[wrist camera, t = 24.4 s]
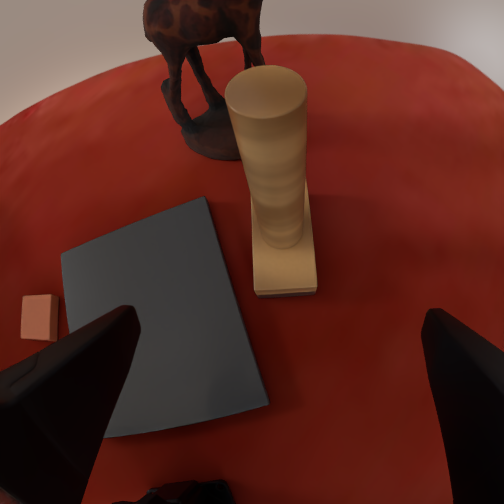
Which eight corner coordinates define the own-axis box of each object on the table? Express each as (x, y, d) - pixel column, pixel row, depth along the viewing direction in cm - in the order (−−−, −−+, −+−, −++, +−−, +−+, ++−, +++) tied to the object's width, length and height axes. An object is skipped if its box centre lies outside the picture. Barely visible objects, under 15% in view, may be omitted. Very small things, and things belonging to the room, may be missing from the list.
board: (270, 402, 20) (269, 404, 20) (101, 437, 21) (94, 439, 20) (207, 201, 26) (204, 195, 25) (66, 257, 26) (60, 253, 25)
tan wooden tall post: (315, 295, 22) (346, 183, 8) (258, 298, 23) (200, 195, 9) (305, 193, 25) (307, 27, 11) (254, 197, 26) (212, 36, 11)
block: (58, 341, 24) (49, 340, 23) (28, 340, 24) (20, 338, 23) (59, 296, 25) (51, 293, 24) (30, 298, 25) (22, 295, 24)
